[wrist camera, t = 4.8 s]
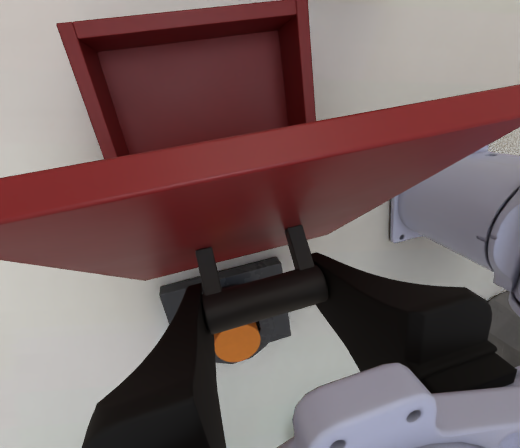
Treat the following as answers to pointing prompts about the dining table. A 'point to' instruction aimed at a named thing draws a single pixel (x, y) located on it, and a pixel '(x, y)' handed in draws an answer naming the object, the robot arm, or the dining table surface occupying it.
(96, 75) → the maroon rectangular box
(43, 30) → the dining table surface
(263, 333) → the switch box
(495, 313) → the coffeepot
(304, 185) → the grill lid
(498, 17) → the dining table surface
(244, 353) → the power button
